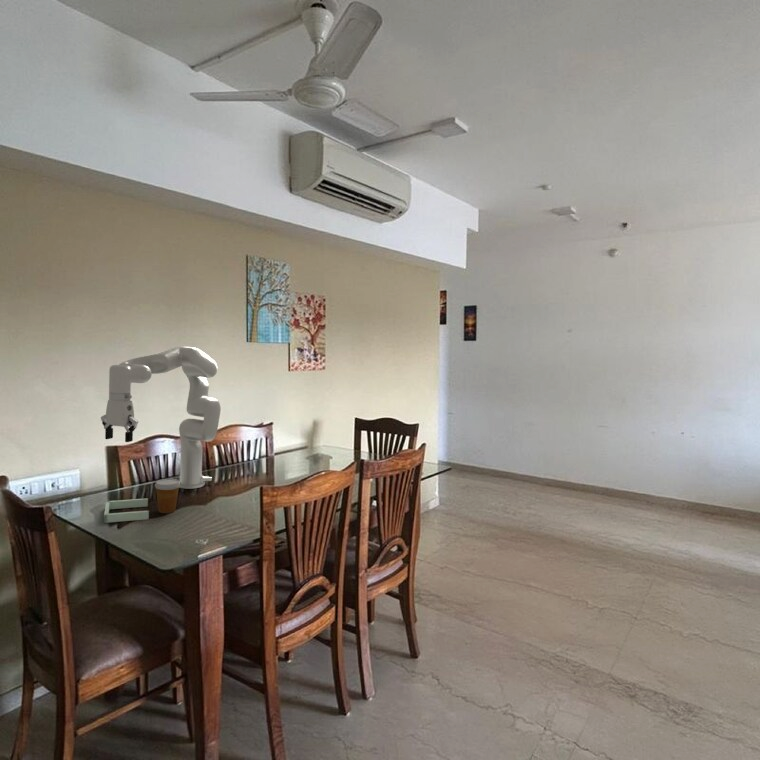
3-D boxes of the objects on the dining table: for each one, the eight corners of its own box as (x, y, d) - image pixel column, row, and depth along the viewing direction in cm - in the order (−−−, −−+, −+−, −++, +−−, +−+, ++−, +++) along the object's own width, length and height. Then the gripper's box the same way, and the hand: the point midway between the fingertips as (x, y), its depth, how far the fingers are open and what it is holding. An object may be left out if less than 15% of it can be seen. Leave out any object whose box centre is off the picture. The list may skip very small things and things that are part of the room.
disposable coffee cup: (151, 514, 206) (152, 485, 205) (157, 506, 215) (157, 478, 214) (177, 514, 208) (178, 485, 206) (181, 506, 217) (182, 478, 216)
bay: (147, 505, 216) (147, 498, 215) (148, 519, 201) (148, 511, 201) (106, 508, 209) (106, 501, 209) (103, 522, 194) (104, 515, 194)
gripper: (144, 398, 204) (143, 441, 205) (109, 393, 209) (109, 436, 210) (130, 399, 196) (129, 444, 198) (94, 395, 202) (93, 439, 203)
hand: (118, 440), depth 204 cm, fingers open, 9 cm apart
